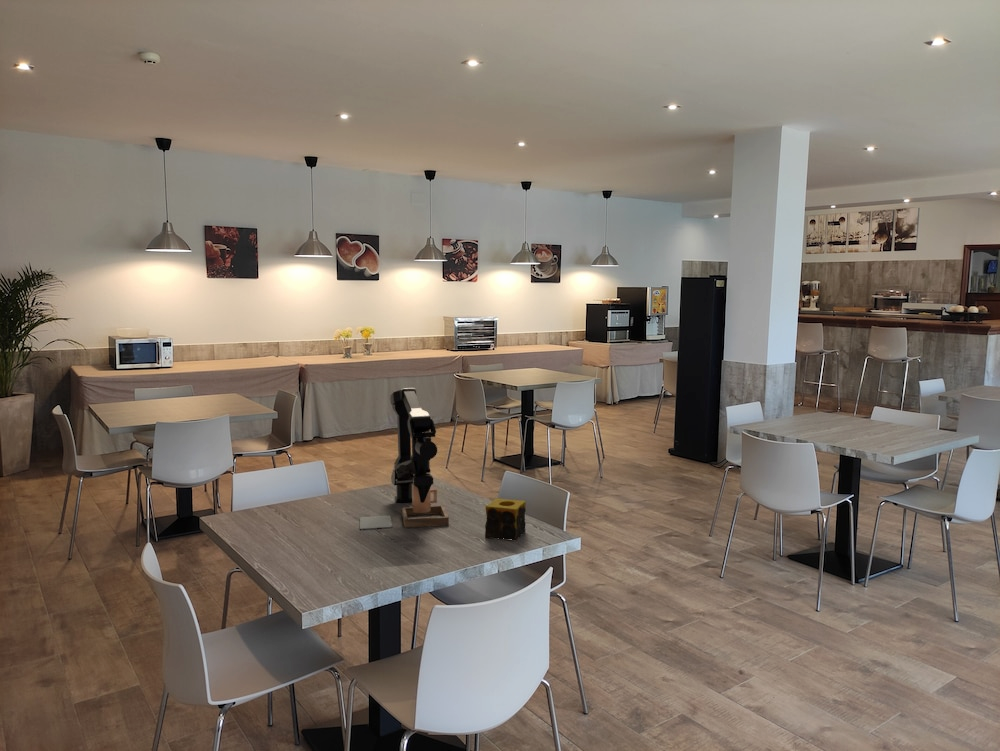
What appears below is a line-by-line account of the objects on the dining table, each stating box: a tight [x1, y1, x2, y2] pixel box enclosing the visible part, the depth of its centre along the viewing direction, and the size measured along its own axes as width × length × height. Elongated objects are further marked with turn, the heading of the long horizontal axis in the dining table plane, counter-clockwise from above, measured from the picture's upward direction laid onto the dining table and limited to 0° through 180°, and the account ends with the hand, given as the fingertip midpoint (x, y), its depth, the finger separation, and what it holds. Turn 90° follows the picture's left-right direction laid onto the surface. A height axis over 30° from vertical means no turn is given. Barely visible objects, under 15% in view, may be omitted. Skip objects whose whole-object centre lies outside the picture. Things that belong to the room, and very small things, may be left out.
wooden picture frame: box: [401, 504, 450, 529], centre depth 237 cm, size 14×14×2 cm
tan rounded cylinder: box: [411, 483, 438, 513], centre depth 237 cm, size 6×8×9 cm
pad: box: [359, 515, 393, 531], centre depth 234 cm, size 12×10×1 cm
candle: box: [484, 498, 527, 541], centre depth 222 cm, size 10×10×10 cm
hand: (421, 499), depth 237 cm, fingers closed on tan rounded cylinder, 6 cm apart
